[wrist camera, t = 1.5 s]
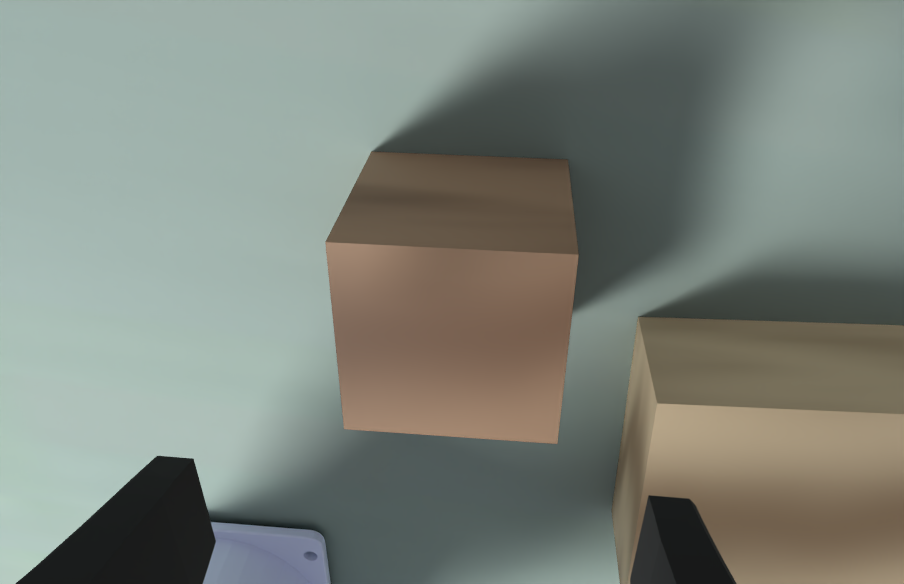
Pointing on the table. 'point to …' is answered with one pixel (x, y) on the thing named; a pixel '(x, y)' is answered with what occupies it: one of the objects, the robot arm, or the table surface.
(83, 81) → the table surface
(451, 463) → the table surface
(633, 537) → the oak block
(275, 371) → the table surface
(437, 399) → the walnut cube
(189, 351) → the table surface
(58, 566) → the robot arm
